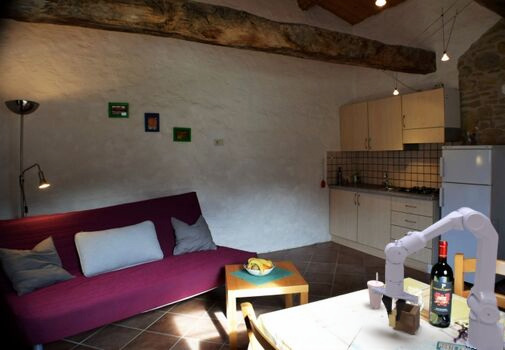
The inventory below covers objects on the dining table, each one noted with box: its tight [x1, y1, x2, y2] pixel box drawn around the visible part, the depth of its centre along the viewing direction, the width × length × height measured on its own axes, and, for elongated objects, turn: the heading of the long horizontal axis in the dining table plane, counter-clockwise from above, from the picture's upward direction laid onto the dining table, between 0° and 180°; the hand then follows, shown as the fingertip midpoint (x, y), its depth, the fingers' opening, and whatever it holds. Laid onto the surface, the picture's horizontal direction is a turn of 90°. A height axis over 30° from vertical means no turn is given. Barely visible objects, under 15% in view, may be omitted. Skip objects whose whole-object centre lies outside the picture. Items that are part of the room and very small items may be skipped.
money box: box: [392, 302, 421, 335], centre depth 119 cm, size 7×8×7 cm
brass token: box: [388, 308, 399, 328], centre depth 113 cm, size 5×2×4 cm, turn 142°
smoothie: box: [366, 272, 385, 310], centre depth 135 cm, size 6×6×14 cm
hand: (394, 318), depth 113 cm, fingers closed on brass token, 2 cm apart
